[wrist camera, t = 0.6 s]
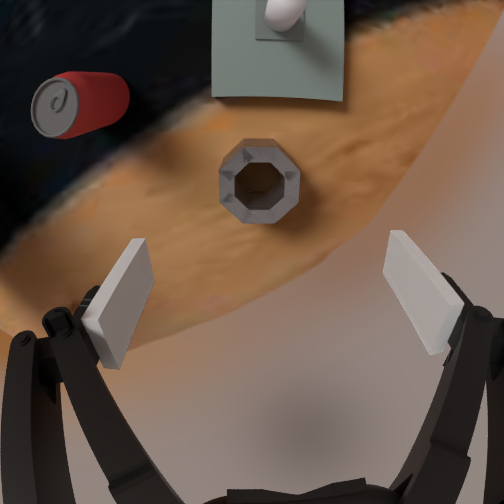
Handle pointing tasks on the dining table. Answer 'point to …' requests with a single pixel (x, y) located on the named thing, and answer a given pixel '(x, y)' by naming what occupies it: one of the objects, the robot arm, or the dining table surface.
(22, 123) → the dining table surface
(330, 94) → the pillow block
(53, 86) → the beer can
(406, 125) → the dining table surface
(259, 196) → the ring
